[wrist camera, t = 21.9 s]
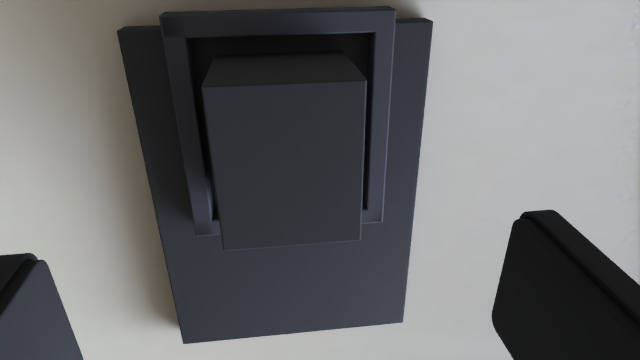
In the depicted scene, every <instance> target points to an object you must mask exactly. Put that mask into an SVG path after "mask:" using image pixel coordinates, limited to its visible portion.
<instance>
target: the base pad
mask: <svg viewBox="0 0 640 360" xmlns="http://www.w3.org/2000/svg"><path fill="white" fill-rule="evenodd" d="M159 19H160V25H161V26H127V27H123V28H121V29H119V30H118V31H117V34H118V39H119V44H120V48H121V53H122V58H123V63H124V67H125V72H126V77H127V81H128V86H129V91H130V95H131V100H132V105H133V110H134V114H135V119H136V124H137V128H138V133H139V138H140V142H141V147H142V152H143V157H144V161H145V166H146V171H147V175H148V180H149V185H150V189H151V194H152V199H153V204H154V208H155V213H156V218H157V222H158V227H159V232H160V236H161V241H162V246H163V250H164V255H165V260H166V265H167V269H168V274H169V279H170V283H171V288H172V293H173V297H174V302H175V307H176V312H177V316H178V321H179V326H180V330H181V335H182V340H183V344H188V343H198V342H209V341H219V340H229V339H239V338H249V337H259V336H269V335H280V334H290V333H300V332H310V331H320V330H330V329H341V328H351V327H361V326H371V325H381V324H391V323H401V322H403V316H404V306H405V296H406V286H407V276H408V266H409V256H410V246H411V236H412V226H413V216H414V206H415V197H416V187H417V177H418V167H419V157H420V147H421V137H422V127H423V117H424V107H425V97H426V87H427V78H428V68H429V58H430V48H431V38H432V28H433V21H431V20H428V19H426V18H407V19H396V9H394V8H391V7H389V6H378V7H339V8H300V9H261V10H222V11H183V12H164V13H163V14H161V15H160V16H159ZM316 51H343V52H344V53H345V54H346V55H347V57H348V58H349V59H350V60H351V61H352V63H353V64H354V65H355V66H356V67H357V69H358V70H359V71H360V72H361V74H362V75H363V76H364V77H365V78H366V80H367V91H366V117H365V143H364V170H363V196H362V222H361V239H360V240H359V241H347V242H334V243H322V244H309V245H296V246H284V247H271V248H258V249H245V250H233V251H224V250H223V245H222V238H221V230H220V223H219V216H218V208H217V201H216V194H215V186H214V179H213V172H212V164H211V157H210V150H209V142H208V135H207V128H206V120H205V113H204V106H203V98H202V91H201V87H202V84H203V82H204V80H205V77H206V75H207V73H208V70H209V68H210V66H211V64H212V61H213V59H214V57H215V55H230V54H259V53H287V52H316Z"/></svg>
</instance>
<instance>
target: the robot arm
mask: <svg viewBox="0 0 640 360" xmlns="http://www.w3.org/2000/svg"><path fill="white" fill-rule="evenodd" d="M492 322H493V325H494V328H495V330H496V332H497V333H498V335H499V337H500V338H501V340H502V341H503V343H504V345H505V346H506V348H507V350H508V351H509V353H510V354H511V356H512V358H513V359H514V360H640V285H639V284H637V283H636V282H635V281H634V280H633V279H632V278H631V277H630V276H628V275H627V274H626V273H625V272H624V271H623V270H622V269H620V268H619V267H618V266H617V265H616V264H615V263H614V262H613V261H611V260H610V259H609V258H608V257H607V256H606V255H605V254H604V253H602V252H601V251H600V250H599V249H598V248H597V247H596V246H595V245H593V244H592V243H591V242H590V241H589V240H588V239H587V238H586V237H584V236H583V235H582V234H581V233H580V232H579V231H578V230H577V229H575V228H574V227H573V226H572V225H571V224H570V223H569V222H568V221H566V220H565V219H564V218H563V217H562V216H561V215H560V214H559V213H557V212H556V211H554V210H541V211H529V212H524V213H523V214H522V215H521V216H520V219H517V220H515V222H514V223H513V226H512V230H511V234H510V238H509V242H508V247H507V251H506V255H505V259H504V264H503V268H502V272H501V276H500V281H499V285H498V289H497V293H496V298H495V302H494V306H493V310H492ZM0 360H83V357H82V354H81V351H80V349H79V346H78V344H77V341H76V338H75V336H74V333H73V330H72V328H71V325H70V322H69V320H68V317H67V315H66V312H65V309H64V307H63V304H62V301H61V299H60V296H59V293H58V291H57V288H56V286H55V283H54V280H53V278H52V275H51V272H50V270H49V267H48V265H47V263H46V262H45V261H44V260H38V259H37V257H36V256H35V255H34V254H31V253H24V254H12V255H0Z"/></svg>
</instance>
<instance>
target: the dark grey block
mask: <svg viewBox="0 0 640 360" xmlns="http://www.w3.org/2000/svg"><path fill="white" fill-rule="evenodd" d="M201 91H202V98H203V106H204V113H205V120H206V128H207V135H208V142H209V150H210V157H211V164H212V172H213V179H214V186H215V194H216V201H217V208H218V216H219V223H220V230H221V238H222V245H223V250H224V251H233V250H245V249H258V248H271V247H284V246H296V245H309V244H322V243H334V242H347V241H359V240H360V239H361V222H362V196H363V170H364V143H365V117H366V91H367V80H366V78H365V77H364V76H363V75H362V74H361V72H360V71H359V70H358V69H357V67H356V66H355V65H354V64H353V63H352V61H351V60H350V59H349V58H348V57H347V55H346V54H345V53H344V52H343V51H316V52H287V53H259V54H230V55H215V57H214V59H213V61H212V64H211V66H210V68H209V70H208V73H207V75H206V77H205V80H204V82H203V84H202V87H201Z"/></svg>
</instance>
